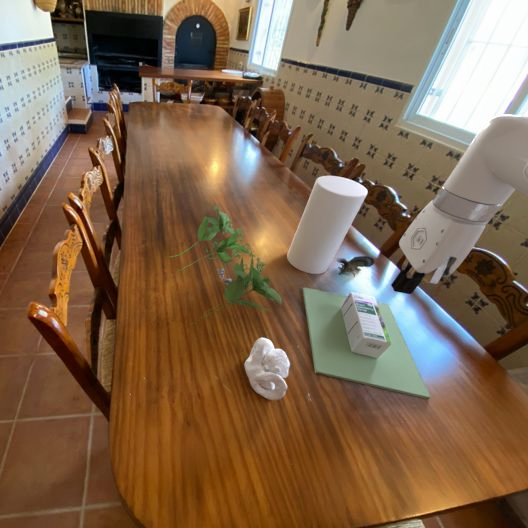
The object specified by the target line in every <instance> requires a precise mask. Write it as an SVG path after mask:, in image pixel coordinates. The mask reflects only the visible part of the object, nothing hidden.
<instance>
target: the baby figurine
mask: <svg viewBox="0 0 528 528" xmlns="http://www.w3.org/2000/svg"><path fill="white" fill-rule="evenodd" d="M249 352H250V354H249V356H248V358H247V359H246V360H245V362H244V364H243V365H244V371H245V373H246V374H245V375H246V376H247V378H248V382H249V384H250V386H251V388H252V389H253V390H254V392H255V393H256V394H257V395H260V396H261V397H263V398H265V399H267V400H269V401H279V400H282V398H284V397H285V395H286V392H287V390H288V385H287V383H286V381H285V379H286V378H288V376H289V369H290V367H291V362H290V360H289V357H288V356H287V353H286V352H285V351H284V350H283V349H281V348H275V345H274V344H273V342H272V340H270V339H268V338H267V337H259V338H258V339H257V340H256V341H254V343H253V346H252V348H251V351H249Z"/></svg>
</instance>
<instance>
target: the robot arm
mask: <svg viewBox="0 0 528 528" xmlns="http://www.w3.org/2000/svg"><path fill="white" fill-rule="evenodd" d="M515 191H518V192H520V193H521V194H523V195H524V196H525V195H526V196H527V197H528V116H524V115H516V114H500V115H499V114H498V115H496V116H493V117H490V119H488V120H487V121H486V122H484V124H483V125H482V127H480V129H479V131H478V132H477V134H476V135H475V136H474V138H473V140H472V142H471V143H470V144H469V146H468V147H467V149H466V150H465V152H464V153H463V155H462V157H461V158H459V161H458V162H457V164H456V165H455V167H454V169H452V172H451V173H450V175H449V176H448V177H447V179H446V180H445V182H444V183H443V185H442V187H441V188H440V189H439V191H438V192H437V194H436V195H435V197H434V199H431V201H430V202H428V203H427V204H426V205H425V206H424V208H423V209H422V210H421V211H420V212H419V213H418V214H417V216H416V217H415V218H414V219H413V221H412V222H411V224H410V225H409V226H408V227H407V229H406V231H405V232H404V233H403V235H402V236H401V238H400V239H399V241H398V245H399V248H400V249H401V252H402V253H403V254H404V256H405V259H404V261H403V263H402V265H401V270H400V272H399V273H398V274H397V275H396V277H395V279H394V280H393V281H392V283H391V284H390V286H391V287H392V290H393V291H394V292H395V293H400V294H406V295H412V294H413V293H414V291H415V290H416V289H417V288H418V286H420V284H421V282H422V281H423V282H424V283H426V284H427V285H428V284H429V285H433V286H434V285H435V286H436V285H438V284H439V282H440V280H441V279H442V277H443V278H447V277H450V276H451V275H452V274H453V273H454V272H455V271H456V270H457V269H458V268H459V267H460V266H461V264H462V263H463V262H464V261H465V259H466V258H467V257H468V255H469V254H470V253H471V251H472V249H473V248H474V247H475V245H476V244H477V242H478V241H479V239H480V237H481V235H482V234H483V232H484V230H485V228H486V225H487V224H488V223H489V222H490V221H491V219H492V218H493V217H495V215H496V214H497V212H498V211H500V210H501V208H502V206H503V205H504V204H505V203H506V201H507V200H508V199H509V198H510V197H511V196H512V194H513V193H514V192H515Z"/></svg>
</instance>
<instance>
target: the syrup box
mask: <svg viewBox="0 0 528 528" xmlns="http://www.w3.org/2000/svg"><path fill="white" fill-rule="evenodd" d="M346 296H347V298H346V300H345V301H344V303H343V305H342V306H341V310H342V314H343V319H344V323H345V327H346V331H347V335H348V340H349V344H350V348H351V352H353V353H357V354H361V355H365V356H369V357H373V358H379V357H380V356H381V355H382V354H383V353H384V352H385V351H386V350H387V349H388V348H389V346H390V345H391V344H392V343H391V340H390V338H389V335H388V332H387V330H386V327H385V324H384V322H383V319H382V316H381V313H380V311H379V308H378V305H377V302H378V301H377V299H376V298H375V297H374V296H371V295H366V294H361V293H357V292H353V291H350V292H349V294H348V295H346Z"/></svg>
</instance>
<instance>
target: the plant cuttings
mask: <svg viewBox="0 0 528 528" xmlns="http://www.w3.org/2000/svg"><path fill="white" fill-rule="evenodd" d="M215 210H216V211H217V217H216V216H209V217H208V216H204V217H203V219H202V222H201V223H200V225H199V227H198V230H197V239H198V241H197V242H195V243H194V244H193V245H191V246H190V247H189V248H187V249H186V250H184V251H182V252H181V253H178V254H176V255H169V256H168V258H175V257H178V256H181V255H183V254H185V253H186V252H188V251H189V250H191V249H192V248H193V247H194V246H196V245H197V244H198V243H199V242H201V241H211V242H210V243H209V244H208V245H207V248H206V250H205V252H206V253H208V254H207V255H206V256H203V257H201V258H199V259H197V260H195V261H194V262H191V263H190V264H188V265H186V266H184V267H183V268H181V269H179V270H177V271H176V272H175V273H174V274H178V273H179V272H181V271H183V270H184V269H187V268H188V267H189V266H191V265H193V264H195V263H197V262H199V261H201V260H202V259H204V258H205V257H207V259H208V260H216V259H218V258H219V260H220V262H222V263H223V264H228V263H230V262H232V261H235V258H237V259H238V260H240V264H239V263H238V262H235V264H233V273H234V274H235V276H236V279H234V280H233V279H232V278H231V277H230V278H226V277H225V275H224V274H225V272H226V271H225V269H224V268H219V269H218V268H216V272H217V273H218V275H219V277H220V279H221V280H222V283H223V285H226V286H225V288H224V290H223V296H224V298H225V301H226V304H224V305H222V304H223V303H225V301H224V302H222V303H220V304H218V306H220V305H222V306H220V307H219V308H216V309H215V310H212V309H214V307H212V308H210V309H209V310H207V311H205V313H208V312H209V311H211V310H212V311H211V312H210V313H208V314H206V315H204V316H203V317H201V318H199V319H198V320H197V321H194V322H193V323H191V324H189V326H192V325H194V324H196V323H197V322H198V321H200V320H203V319H204V318H206V317H208V316H210V315H211V314H214V313H215V312H217V311H218V310H220V309H222V308H224V307H225V306H227V305H230V304H236V305H242V306H247V307H251V308H256V309H260V310H263V311H266V312H269V309H267V308H265V307H263V306H262V305H259V304H257V303H255V302H253V301H250V300H246V299H242V298H241V297H243V296H245V295H247V294H249V293H251V292H253V291H254V292H256V293H257V294H259V295H260V296H262V297H264V298H267V299H269V300H271V301H272V302H273V301H276V302H277V303H278V304H279V305H280V307H282V306H283V301H282V297H281V296H280V294H279V293H278V292H277V291H276V290H275V289H274V288H273V287H270V286H268V285H269V284H270V282H271V280H272V278H270V277H267V276H265V277H263V274H262V272H263V271H264V270H265V268H264V267H265V266H266V265H267V262H264V261H261V258H260V257H259V256H258V257H257V258H256V263H255V262H254V258H255V257H256V256H255V255H254V254H253V252H252V248H251V247H250V244H249V243H248V242H247V241H246V242H245V243H246V245H247V246H246V245H245V244H241V243H239V242H237V241H238V238H239V241H241V242H242V243H243V242H244V241H245V240H244V237H245V235H244V233H243V232H242V230H243V228H238V227H236V229H235V228H234V227H233V225H234V223H232V221H233V219H230V218H229V216H228V214H226V213H224V212H222V211H221V210H220V208H219V206H218V205H214V206H213V211H215ZM209 223H210V224H211V226H210V227H208V226H209ZM221 231H222V235H226V233H227V234H230V235H229V236H228V237H227V238H224V239H222V240H220V242H219V243H218V241H217V240H213V239H214V238H215V237H216V235H217V234H218V233H220V232H221ZM212 243H213V244H214V248H213V247H212V248H211V250H209V251H208V247H209V246H210V245H211V244H212ZM227 249H230V250H231V251H230V252H231V257H230V256H229V254H228V253H227V252H226V250H227ZM211 251H212V252H211ZM215 252H216V253H217V256H216V257H215V255H216V253H215ZM241 253H242V255H241ZM244 254H247V255H248V257H249V258H250V266H249V267H248V264H247V263H244ZM210 255H212V257H209V256H210ZM254 263H255V265H256V267H255V265H254ZM244 267H246V268H244ZM247 270H249V271H248V273H247Z"/></svg>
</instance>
